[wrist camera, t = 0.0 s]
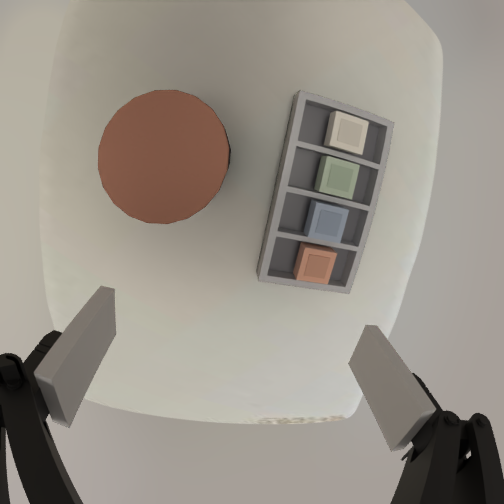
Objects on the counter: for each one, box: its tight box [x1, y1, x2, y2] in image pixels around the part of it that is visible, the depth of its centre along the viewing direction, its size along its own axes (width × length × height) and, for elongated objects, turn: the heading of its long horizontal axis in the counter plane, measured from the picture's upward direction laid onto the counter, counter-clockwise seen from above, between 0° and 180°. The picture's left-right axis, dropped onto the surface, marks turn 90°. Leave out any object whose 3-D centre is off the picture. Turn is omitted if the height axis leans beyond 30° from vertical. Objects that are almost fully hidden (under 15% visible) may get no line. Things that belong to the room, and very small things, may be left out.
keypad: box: [256, 90, 394, 294], centre depth 39 cm, size 26×14×3 cm, turn 169°
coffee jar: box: [98, 90, 231, 224], centre depth 29 cm, size 11×11×18 cm
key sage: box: [314, 155, 360, 200], centre depth 36 cm, size 5×5×3 cm
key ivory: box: [324, 111, 369, 155], centre depth 34 cm, size 5×5×2 cm
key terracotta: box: [293, 242, 337, 284], centre depth 39 cm, size 5×5×2 cm
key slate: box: [304, 199, 349, 243], centre depth 38 cm, size 5×5×2 cm
